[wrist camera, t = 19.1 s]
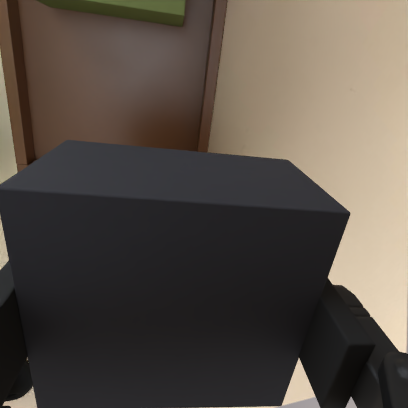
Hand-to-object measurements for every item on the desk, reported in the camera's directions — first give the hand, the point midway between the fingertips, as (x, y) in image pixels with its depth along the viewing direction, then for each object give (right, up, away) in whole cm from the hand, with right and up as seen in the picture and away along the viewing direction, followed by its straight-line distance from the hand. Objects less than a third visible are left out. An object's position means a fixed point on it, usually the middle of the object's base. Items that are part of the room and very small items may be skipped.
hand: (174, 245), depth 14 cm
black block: (0, 0, 0) cm, 0 cm away
